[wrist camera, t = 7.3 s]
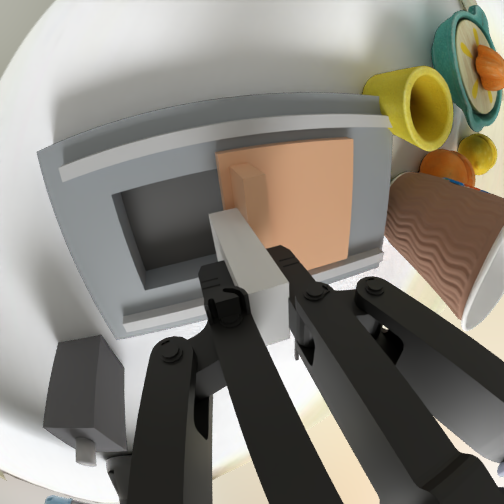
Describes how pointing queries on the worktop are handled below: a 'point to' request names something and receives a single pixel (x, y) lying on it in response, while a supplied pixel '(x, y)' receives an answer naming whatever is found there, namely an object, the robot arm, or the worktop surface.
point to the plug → (87, 399)
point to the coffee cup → (450, 240)
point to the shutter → (293, 195)
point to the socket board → (195, 196)
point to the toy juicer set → (448, 96)
